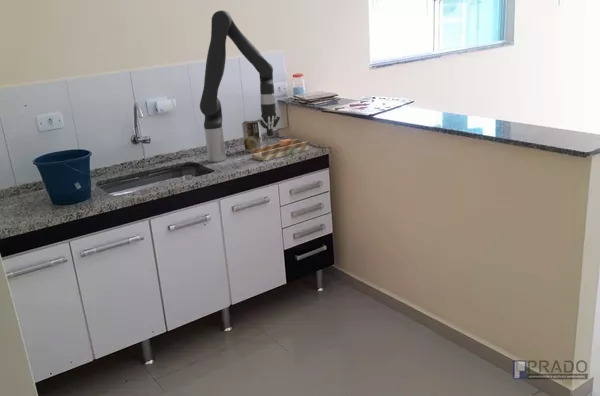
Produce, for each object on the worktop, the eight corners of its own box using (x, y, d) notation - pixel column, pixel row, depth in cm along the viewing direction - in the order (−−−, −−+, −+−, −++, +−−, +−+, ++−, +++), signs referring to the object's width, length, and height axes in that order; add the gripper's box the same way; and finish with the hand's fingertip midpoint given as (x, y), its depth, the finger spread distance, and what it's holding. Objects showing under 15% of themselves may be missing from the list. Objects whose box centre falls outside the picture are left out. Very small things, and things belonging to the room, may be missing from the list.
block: (285, 149, 290) (284, 141, 289) (280, 147, 294) (279, 140, 292) (293, 147, 292) (292, 140, 291) (287, 146, 296) (287, 138, 295)
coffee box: (263, 148, 307) (260, 119, 302) (261, 151, 301) (258, 122, 296) (247, 149, 308) (244, 120, 303) (244, 152, 302) (241, 123, 297)
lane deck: (263, 161, 279) (262, 152, 278) (252, 157, 288) (251, 149, 286) (310, 149, 296) (309, 141, 294) (298, 146, 304) (297, 138, 303)
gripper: (261, 104, 274) (263, 139, 279) (282, 101, 281) (284, 134, 287) (253, 103, 280) (255, 137, 285) (274, 100, 287) (276, 133, 293)
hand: (270, 135), depth 286 cm, fingers closed
